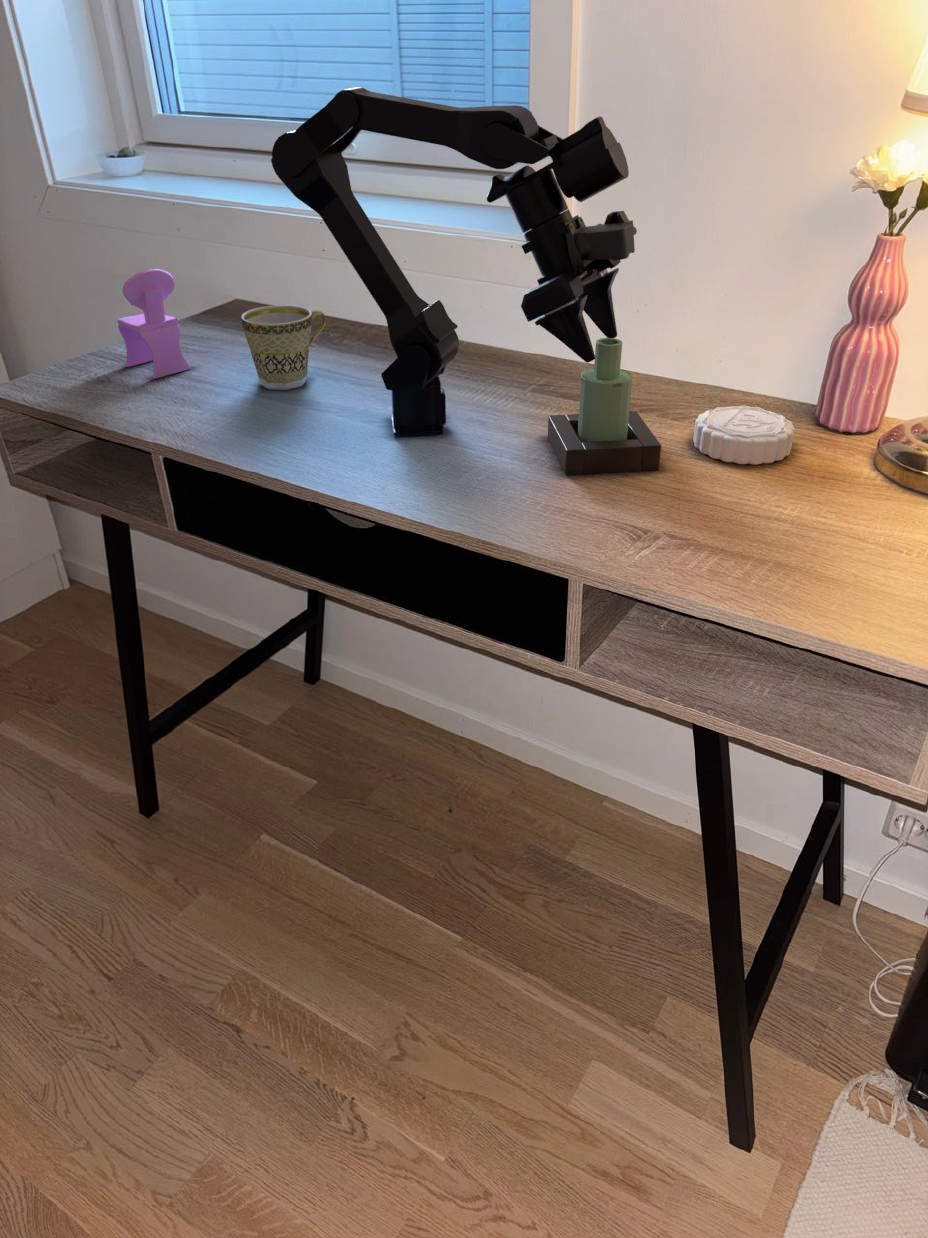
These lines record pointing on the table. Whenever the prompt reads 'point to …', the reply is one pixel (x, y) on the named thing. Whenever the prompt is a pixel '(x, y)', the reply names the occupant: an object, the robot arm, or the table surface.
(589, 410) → the vase
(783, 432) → the mooncake
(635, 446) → the holder
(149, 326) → the toy chair
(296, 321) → the ceramic cup
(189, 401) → the table surface
